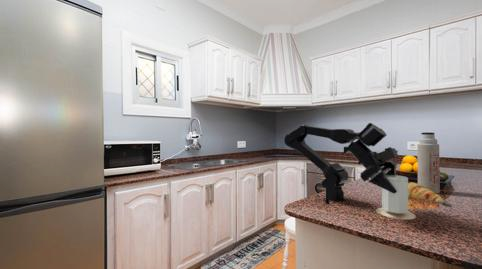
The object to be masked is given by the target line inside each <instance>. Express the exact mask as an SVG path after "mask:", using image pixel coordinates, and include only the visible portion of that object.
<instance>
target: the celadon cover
mask: <svg viewBox="0 0 482 269" xmlns="http://www.w3.org/2000/svg"><path fill="white" fill-rule="evenodd" d="M386 178H387V179H388V180H389V182H390V183H391V184H392V185H393V187H394V188H395V189H396V191H397V192H396V193H392V192H390V191H388V190H386V189H383V188H381V208H382V209H384V210H386V211H389V212H394V213H408V212H409V199H408V183H409V177H407V176H403V175H398V174H397V175H386Z"/></svg>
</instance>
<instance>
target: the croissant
mask: <svg viewBox="0 0 482 269" xmlns="http://www.w3.org/2000/svg"><path fill="white" fill-rule="evenodd" d="M409 199H410V200H411V199H412V200H425V201H432V202H437V203H439V204H442V205H443V204H444V203H445V200H444V198H443V197H442V196H441V195H439V193H434V192H433V191H432V190H431V189H427V188H424V187H423V186H421V185H419V184H418V182H412V181H410V182H408V200H409Z"/></svg>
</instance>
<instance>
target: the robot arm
mask: <svg viewBox="0 0 482 269" xmlns="http://www.w3.org/2000/svg"><path fill="white" fill-rule="evenodd" d="M308 135H310V136H315V137H321V138H326V139H329V140H331V141H333V142H335V143H337V144H339V145H340V144H341V145H345V144H346V145H347V144H348V145H347V146H343V152H342V153H343V154H349V153H351V155H353V157H354V158H355V159H356V160H357V161H358V162H357V164H358V165H362V166H363V167H364V168H365V169H364V170H363V171H361V173H360V174H359V175H360V178H361V179H362V181H363V182H364V183H365V182H368V183H369V184H370V183H371V184H372V185H375V186H377V187H379V188H381V189H382V188H383V189H386V190H388V191H390V192H392V193H396V192H397V191H396V189H395V188H394V187H393V185H392V184H391V183H390V182H389V180H388V179H387V178H386V175H398V174H397V168H398V167H397V166H398V164H397V163H396V161H394V160H392V159H396V158H398V157H399V154H398V150H396V148H394V147H391V146H390V147H387V148H384V150H383V151H380V152H378V151H372V150H371V148H369V147H375V146H376V145H378V143H379V142H381V141H382V140H383V139H384V138H385V137H387V133H386V132H385V131H384V129H382V128H381V127H378V126H377V125H375V124H374V123H372V122H369V123H367V125H366V126H365V127H364V128H363V129H362V130H361V131H360V132H355V131H354V130H353V129H350V128H337V129H336V128H335V129H334V128H332V129H331V128H325V127H319V126H313V125H308V124H302V125H300V126H299V127H298V128H297V129H295V130H292V131H291V132H289V133H288V134H286V135H285V137H284V144H285V145H286V146H287V147H288V148H290V149H293V150H295V151H297V152H299V153H300V154H302V155H303V156H304V157H305V158H306V159H307V160H309V161H310V162H311V163H312V164H313V165H315V166H316V168H318V169H319V170H320V171H321V172H322V174H323V176H324V179H323V180H322V181H320V182H321V185H322V186H321V187H322V188H324V202H325V204H330V201H332V202H340V201H345V199H344V198H345V196H344V195H345V193H344V190H343V187H344V185H345V183H347V181H348V179H349V173H348V171H347V170H346V168H345V167H344V166H342V165H341V164H340V163H339V162H335V163H330V162H329V161H328V160H327V159H325V158H324V157H323V156H322V155H320V154H319V153H318V152H316V150H315V149H313V148H311V147H310V145H308V144H307V143H306V140H305V139H306V138H307V136H308Z"/></svg>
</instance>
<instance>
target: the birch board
mask: <svg viewBox="0 0 482 269" xmlns="http://www.w3.org/2000/svg"><path fill="white" fill-rule="evenodd" d="M375 211H376V213H377V214H379V215H382V216H384V217H387V218H391V219H396V220H397V219H398V220H414V219H416V218H417V216H416V214H415V213H412V212H411V211H408V213H402V215H394V214H390V213H388V211H386V210H384V209H382V207H377V208H376V209H375Z"/></svg>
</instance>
